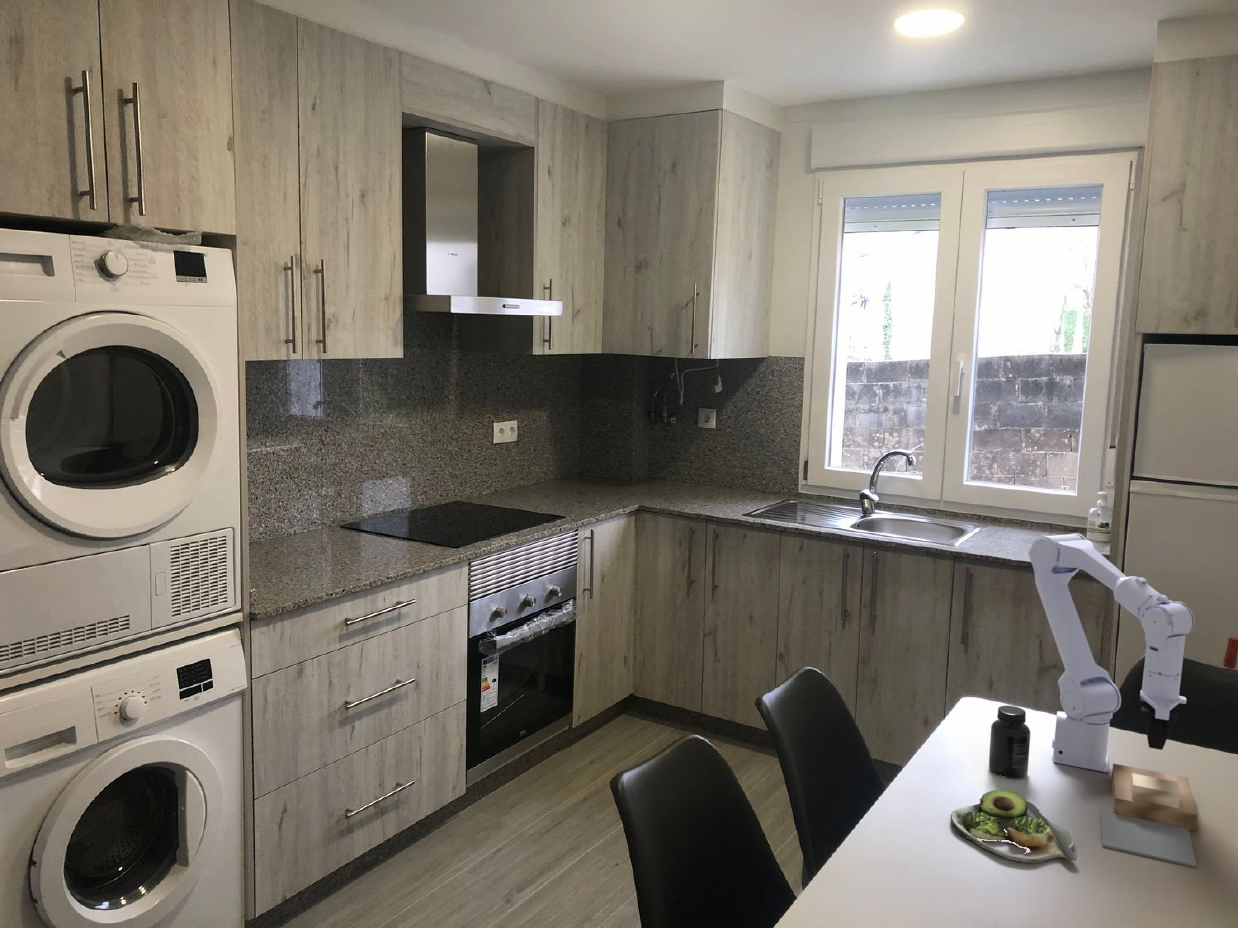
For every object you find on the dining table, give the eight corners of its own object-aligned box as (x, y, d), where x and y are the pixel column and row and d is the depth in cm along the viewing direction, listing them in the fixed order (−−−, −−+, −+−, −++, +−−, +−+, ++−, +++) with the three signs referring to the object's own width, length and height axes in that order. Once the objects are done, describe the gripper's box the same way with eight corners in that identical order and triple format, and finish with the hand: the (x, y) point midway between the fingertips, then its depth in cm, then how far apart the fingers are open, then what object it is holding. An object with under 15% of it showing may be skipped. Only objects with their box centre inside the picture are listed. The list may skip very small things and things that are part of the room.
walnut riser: (1113, 814, 163) (1115, 797, 163) (1111, 778, 177) (1113, 763, 176) (1195, 831, 158) (1197, 814, 158) (1186, 793, 172) (1188, 777, 171)
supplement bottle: (1026, 766, 181) (1031, 706, 179) (1028, 782, 174) (1034, 719, 173) (987, 760, 183) (992, 700, 181) (988, 775, 177) (993, 713, 175)
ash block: (1131, 798, 163) (1133, 784, 162) (1130, 786, 167) (1131, 773, 167) (1179, 808, 160) (1180, 794, 159) (1176, 795, 164) (1178, 781, 164)
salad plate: (1111, 858, 150) (1113, 830, 149) (1028, 883, 142) (1030, 854, 142) (1013, 802, 167) (1015, 777, 167) (935, 822, 160) (937, 796, 159)
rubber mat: (1102, 846, 153) (1102, 844, 153) (1100, 812, 164) (1101, 810, 164) (1196, 867, 147) (1196, 865, 147) (1188, 830, 158) (1188, 828, 158)
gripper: (1193, 687, 160) (1184, 764, 161) (1184, 662, 173) (1177, 733, 174) (1145, 680, 163) (1137, 756, 165) (1140, 655, 176) (1133, 725, 177)
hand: (1154, 744), depth 170 cm, fingers open, 3 cm apart
